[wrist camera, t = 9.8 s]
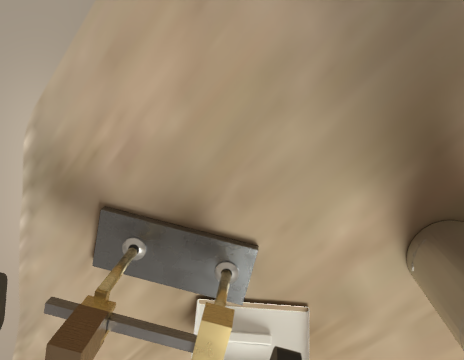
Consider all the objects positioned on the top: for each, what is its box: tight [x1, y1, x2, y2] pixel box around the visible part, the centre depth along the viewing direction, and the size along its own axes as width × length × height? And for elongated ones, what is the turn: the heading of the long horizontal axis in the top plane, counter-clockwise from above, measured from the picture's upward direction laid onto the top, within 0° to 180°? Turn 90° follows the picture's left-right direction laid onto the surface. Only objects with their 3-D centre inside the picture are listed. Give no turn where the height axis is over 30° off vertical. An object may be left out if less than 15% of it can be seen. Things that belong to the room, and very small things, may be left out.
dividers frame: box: [44, 270, 235, 360], centre depth 44 cm, size 18×5×12 cm, turn 77°
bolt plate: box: [92, 207, 258, 305], centre depth 50 cm, size 20×8×2 cm, turn 77°
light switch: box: [191, 299, 309, 360], centre depth 51 cm, size 8×5×14 cm
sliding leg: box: [45, 248, 137, 360], centre depth 41 cm, size 3×5×17 cm, turn 167°
